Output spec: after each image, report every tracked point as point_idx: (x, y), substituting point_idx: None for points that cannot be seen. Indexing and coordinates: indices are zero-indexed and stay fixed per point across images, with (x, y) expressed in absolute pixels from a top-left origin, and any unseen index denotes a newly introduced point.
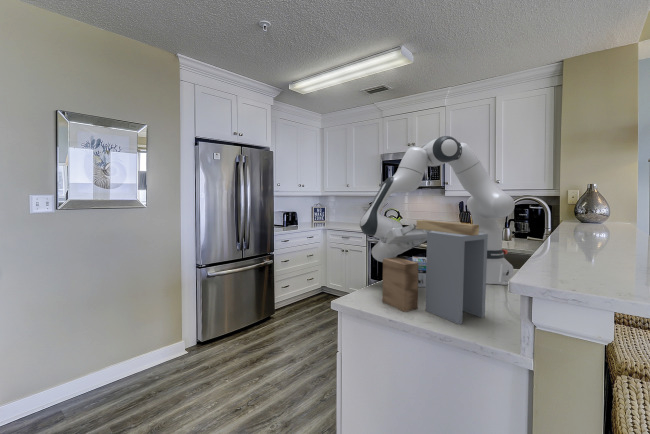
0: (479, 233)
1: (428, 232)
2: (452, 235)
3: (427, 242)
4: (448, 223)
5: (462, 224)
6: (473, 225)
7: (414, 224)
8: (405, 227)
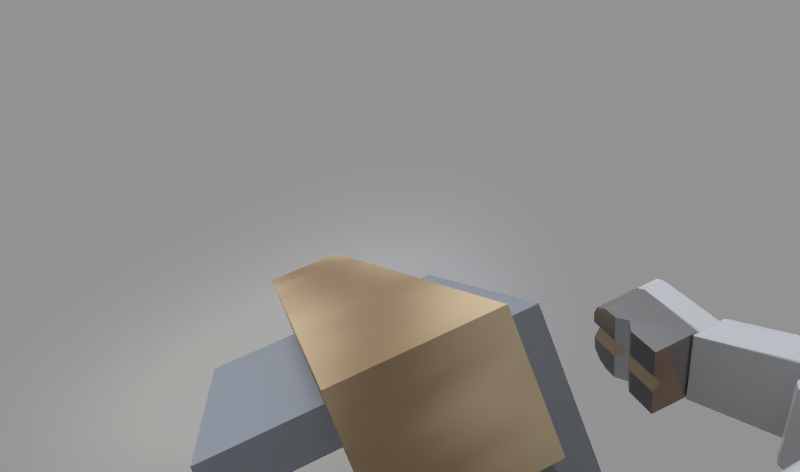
0: (230, 370)
1: (531, 304)
2: (446, 280)
3: (568, 392)
4: (364, 263)
5: (336, 260)
6: (318, 261)
7: (598, 308)
8: (784, 341)
